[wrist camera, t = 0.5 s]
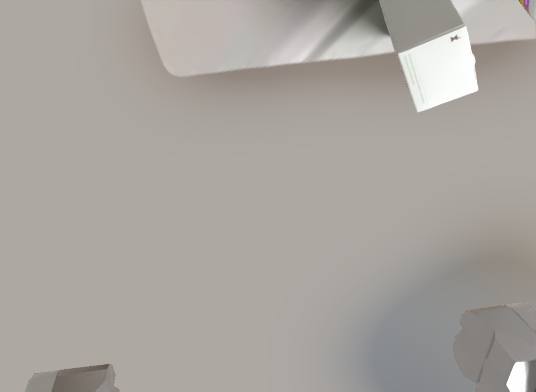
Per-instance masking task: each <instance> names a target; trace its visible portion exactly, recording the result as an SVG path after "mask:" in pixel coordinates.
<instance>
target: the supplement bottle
mask: <svg viewBox="0 0 536 392" xmlns="http://www.w3.org/2000/svg"><path fill="white" fill-rule="evenodd" d="M519 2H520V3H521V4H522V5H523V7H524V8H525V10H526V11H527V12H528V13H529V15H530V16H531V18H532V19H533V20H534V21H535V22H536V0H519Z"/></svg>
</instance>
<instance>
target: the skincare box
mask: <svg viewBox="0 0 536 392" xmlns="http://www.w3.org/2000/svg"><path fill="white" fill-rule="evenodd" d="M379 3H380V7H381V10H382V13H383V16H384V19H385V22H386V25H387V28H388V31H389V35H390V38H391V41H392V44H393V47H394V50H395V53H396V56H397V59H398V62H399V65H400V68H401V71H402V73H403V76H404V79H405V82H406V85H407V87H408V90H409V93H410V95H411V98H412V101H413V103H414V105H415V108H416V111H417V112H420V111H423V110H426V109H429V108H431V107H434V106H437V105H439V104H442V103H445V102H448V101H450V100H453V99H456V98H459V97H461V96H464V95H467V94H470V93H473V92H476V91H478V86H477V80H476V73H475V67H474V65H475V57H474V55H473V54H472V52H471V47H470V41H469V36H468V31H467V27H466V25H465V24H464V22H463V20H462V19H461V17H460V15H459V13H458V12H457V10H456V8H455V7H454V5H453V3H452V1H451V0H379Z"/></svg>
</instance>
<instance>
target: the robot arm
mask: <svg viewBox="0 0 536 392" xmlns="http://www.w3.org/2000/svg"><path fill="white" fill-rule="evenodd" d="M459 323H460V325H461V326H462V328H463V329H462V330H461V331H460V332H459V333H458V334H457V335H456V336H455V340H454V344H453V350H454V357H455V360H456V362H457V364H458V367H459V368H460V370H461V371H462V373H463V374H464V376H465V377H467V378H469V379H470V380H472V381H474V382H475V383H476V392H536V311H535V310H534V309H533V308H532V307H531V306H530V305H528V304H526V303H524V302H522V303H515V304H509V305H504V306H495V307H488V308H482V309H475V310H469V311H466V312H465V313H464V314H463V315H462V316H461V319H460V322H459ZM114 380H115V372H114V369H113V366H112V364H105V365H97V366H89V367H81V368H72V369H64V370H59V371H51V372H43V373H35V374H34V375H33V376H32V378H31V379H30V380H29V383H28V385H27V388H26V391H25V392H119V389H118V388H117V387H115V386H114Z"/></svg>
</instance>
